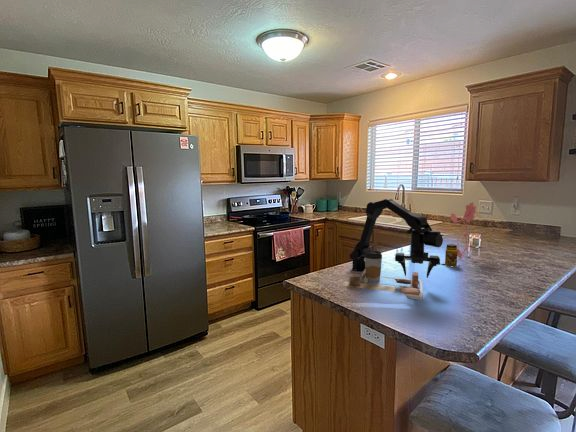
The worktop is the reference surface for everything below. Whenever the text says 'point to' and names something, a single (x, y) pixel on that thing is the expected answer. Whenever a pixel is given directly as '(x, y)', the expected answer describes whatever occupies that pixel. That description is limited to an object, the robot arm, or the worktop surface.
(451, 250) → the condiment
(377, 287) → the tan long flat piece
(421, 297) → the lane tray
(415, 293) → the reddish brown block
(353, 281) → the walnut cube
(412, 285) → the tan rectangular frame
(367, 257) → the coffee cup
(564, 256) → the worktop surface
